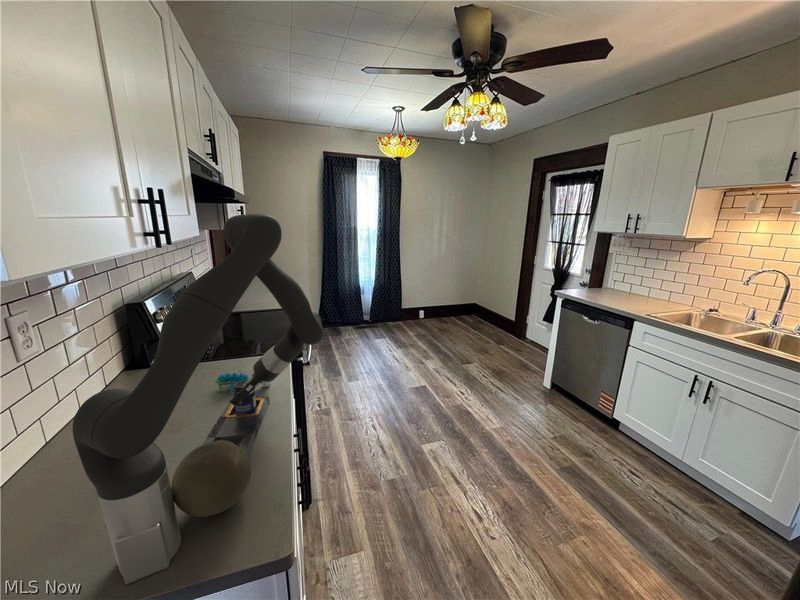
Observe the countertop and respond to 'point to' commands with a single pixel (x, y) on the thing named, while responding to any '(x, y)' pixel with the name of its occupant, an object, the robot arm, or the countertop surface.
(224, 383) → the blue branched piece
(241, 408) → the pill bottle
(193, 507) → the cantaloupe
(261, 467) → the countertop surface
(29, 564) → the countertop surface
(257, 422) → the grey rectangular tray
